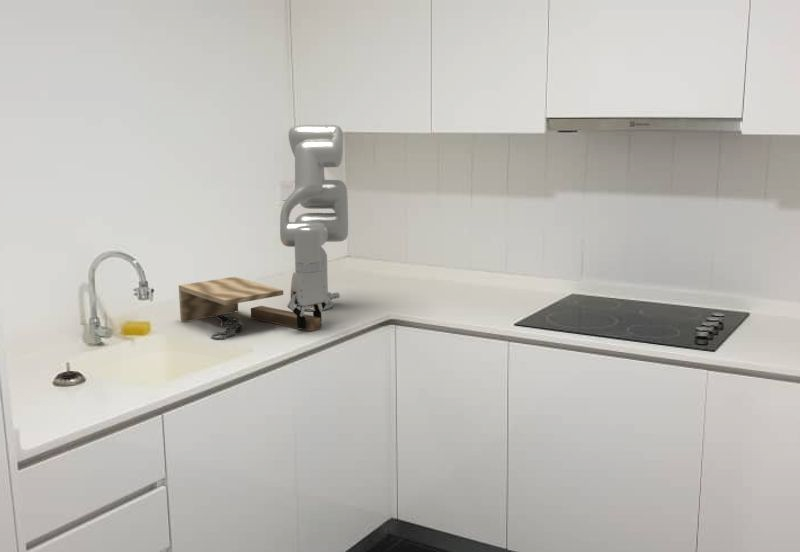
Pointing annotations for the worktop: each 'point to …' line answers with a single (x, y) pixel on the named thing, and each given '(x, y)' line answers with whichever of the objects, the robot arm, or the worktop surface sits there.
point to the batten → (284, 317)
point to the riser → (220, 296)
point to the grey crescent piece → (228, 327)
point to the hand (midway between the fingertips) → (309, 325)
